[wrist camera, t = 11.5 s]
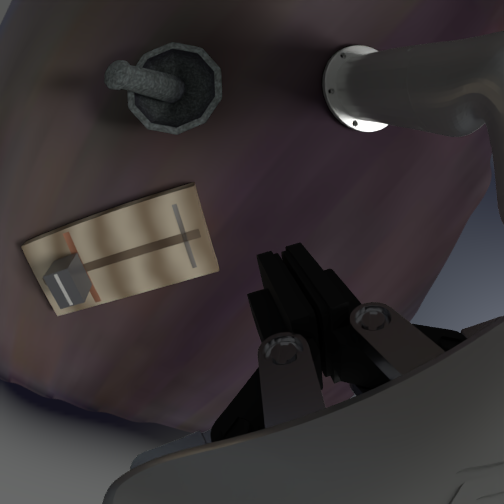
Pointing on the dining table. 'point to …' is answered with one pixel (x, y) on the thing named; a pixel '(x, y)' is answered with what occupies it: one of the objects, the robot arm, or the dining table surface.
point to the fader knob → (68, 281)
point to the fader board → (130, 247)
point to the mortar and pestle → (169, 87)
